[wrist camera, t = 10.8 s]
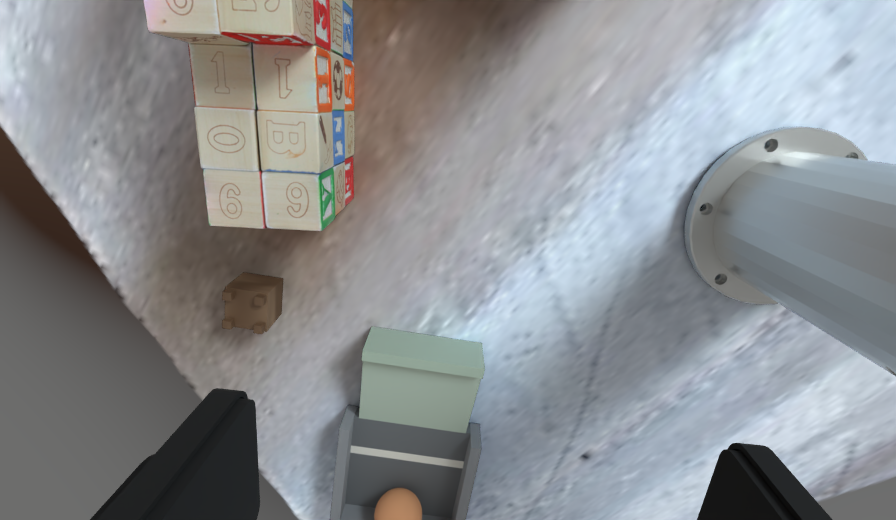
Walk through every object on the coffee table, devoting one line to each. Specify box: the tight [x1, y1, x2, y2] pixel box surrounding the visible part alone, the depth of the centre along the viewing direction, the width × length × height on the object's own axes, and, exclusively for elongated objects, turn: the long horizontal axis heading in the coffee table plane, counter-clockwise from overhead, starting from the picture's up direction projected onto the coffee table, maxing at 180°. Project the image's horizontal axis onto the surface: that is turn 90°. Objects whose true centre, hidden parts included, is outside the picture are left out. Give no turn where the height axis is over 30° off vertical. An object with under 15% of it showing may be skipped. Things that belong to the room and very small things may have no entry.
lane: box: [330, 405, 481, 520], centre depth 39 cm, size 11×11×4 cm
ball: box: [374, 488, 422, 520], centre depth 39 cm, size 4×4×4 cm
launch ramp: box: [359, 327, 485, 433], centre depth 36 cm, size 9×8×4 cm
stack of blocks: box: [143, 0, 354, 231], centre depth 24 cm, size 21×6×12 cm, turn 177°
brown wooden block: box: [222, 272, 283, 334], centre depth 34 cm, size 3×3×4 cm
